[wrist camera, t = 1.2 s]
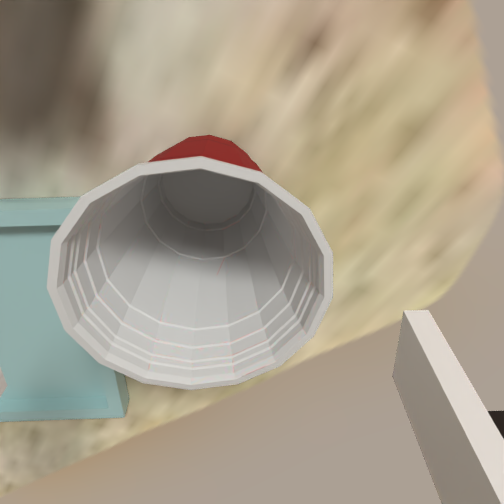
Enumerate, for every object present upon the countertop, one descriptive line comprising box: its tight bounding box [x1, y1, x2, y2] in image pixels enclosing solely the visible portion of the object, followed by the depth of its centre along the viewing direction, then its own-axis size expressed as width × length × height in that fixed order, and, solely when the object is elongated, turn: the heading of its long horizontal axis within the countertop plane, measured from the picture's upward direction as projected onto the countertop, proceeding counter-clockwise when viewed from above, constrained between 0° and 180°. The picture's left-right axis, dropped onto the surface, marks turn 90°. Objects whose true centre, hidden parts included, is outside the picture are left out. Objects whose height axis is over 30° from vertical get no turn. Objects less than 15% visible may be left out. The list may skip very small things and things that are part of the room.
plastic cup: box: [47, 135, 333, 390], centre depth 22 cm, size 11×11×12 cm
